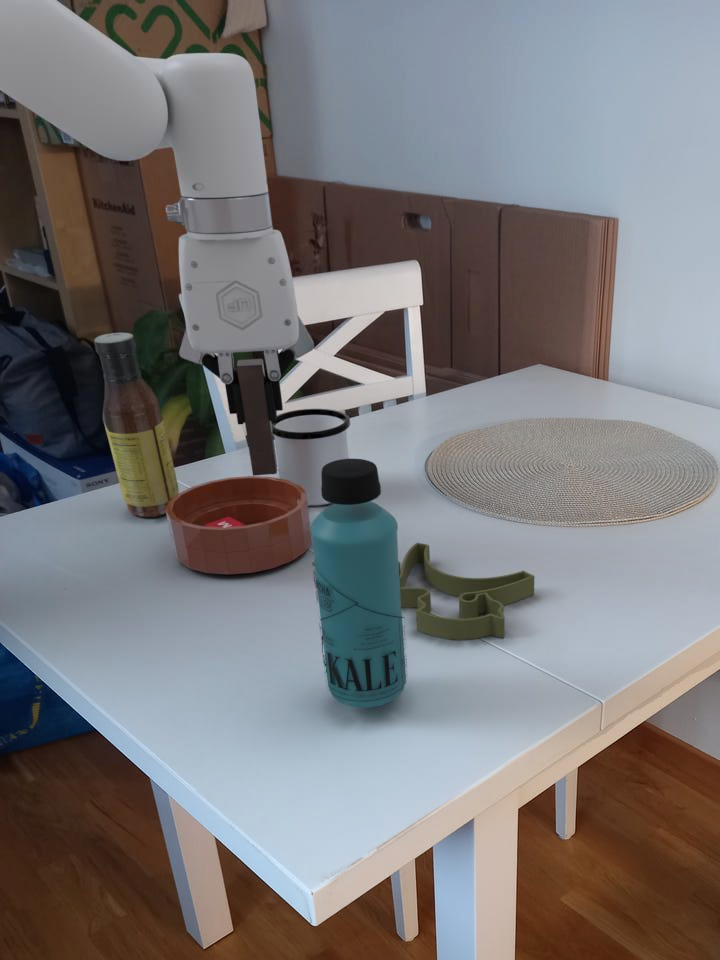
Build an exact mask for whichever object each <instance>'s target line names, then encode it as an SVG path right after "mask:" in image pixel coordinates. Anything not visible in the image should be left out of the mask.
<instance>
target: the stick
mask: <svg viewBox="0 0 720 960" xmlns="http://www.w3.org/2000/svg"><path fill="white" fill-rule="evenodd" d="M264 365H265V364H264V359H263V358H251V359H238V360H237V362H236V371H237V374H238V380H239V385H240V390H241V397H242V403H243V410H244V416H245V423H244V426H245V433H246V438H247V446H248V451H249V453H248V454H249V459H250V466H251V471H252V473H251V474H252V476H267V475H278V470H277V465H278V462H277V454H276V447H275V439H274V436H273V431H272V424H271V421H269V418H268V411H267V403H266V396H265V389H264V383H265V367H264Z"/></svg>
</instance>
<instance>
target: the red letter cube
mask: <svg viewBox="0 0 720 960" xmlns="http://www.w3.org/2000/svg"><path fill="white" fill-rule="evenodd" d="M237 526H245V525H244V524H242V523H241V522H239V521H237V520H235V519H233V518H231V517H227V518H224V519H221V520H218V521H215V522H212V523H209V524H206V525H204V527H224V528H225V527H237Z"/></svg>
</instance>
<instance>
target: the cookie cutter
mask: <svg viewBox="0 0 720 960" xmlns="http://www.w3.org/2000/svg"><path fill="white" fill-rule="evenodd" d="M430 554H431V553H430V544H428V543H422V542H416V543H414V544H413V545H412V546H411V547H410V548H409V549H408V550H407V552H406V553H405V555H404V558H403V560H402V564H401V562H400V561H399V580H400V599H401V608H417V609H416V610H415V617H416V620H415V621H416V630H417V631H419V632H422V633H424V634H427V635H430V636H433V637H437V638H441V639H447V640H454V641H455V640H456V641H463V640H464V641H466V640H475V639H480V638H485V637H488V636H493V637H496V638H500V639H504V638H505V623H506V621H505V620H506V619H505V617H506V616H505V614H504V606H507V605H510V604H513V603H516V602H520V601H522V600H524V599H527V598H529V597H531V596H534V595H535V575H533V574H531V573H530V572H527V571H525V570H521V571H518V572H514V573H510V574H504V575H499V576H498V575H497V576H492V577H463V576H456V575H453V574H449V573H446V572H443V571H442V570H439V569H437V568H436V567H435V566H433V565H432V564H431V560H430V559H431V557H430ZM418 563H424V576H425V579H426V580H427V582H428V583H429V584H430V585H431V586H432V587H433V588H434V589H436V590H438V591H439V592H441V593H444V594H447V595H450V596H455V597H458V609H459V610H458V612H459V615H458V617H459V618H453V617H444V616H440V615H435V614H432V613H430V612H431V611H432V600H431V599H432V598H431V589H430V588H426V587H419V586H418V587H416V586H415V587H414V586H413V587H406V583H407V579H408V577H409V574H410V573H411V571H412V569H413V568H414V567H415V565H416V564H418ZM480 614H481V615H482V614H485V615H482V616H480Z"/></svg>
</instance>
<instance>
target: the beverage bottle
mask: <svg viewBox="0 0 720 960" xmlns="http://www.w3.org/2000/svg"><path fill="white" fill-rule="evenodd" d="M321 478H322V486H321V493H322V498H323V499H324V500H326V501H328V502H330V503H332V504H329V505H328V506H327V507H325V508H324V509H322V511H320V513H319V514H317V515H316V517H315V518H314V519H313V521H312V522H311V523H310V527H311V528H310V532H311V538H312V550H313V558H314V559H313V562H312V563H311V565H312V566H314V570H313V576H314V577H313V582H314V587H315V588H316V593H315V596H316V598H315V599H316V602H317V603H318V608H319V621H320V622H319V623H318V627H319V635H320V639H321V644H320V645H321V654H322V663H323V668H325V670H324V671H323V672H324V675H325V678H326V679H325V683H326V685H327V686H326V688H327V690H328V691H329V692H330V694H331V696H332V698H333V699H334V700H336V701H337V702H338V703H340V704H342V705H344V706H348V707H353V708H374V707H379V706H383V705H385V704H388V703H390V702H393V701H394V700H396V699H397V698H398V697H399V696H400V695H402V693H403V692H404V689H405V686H406V684H407V681H408V677H407V676H408V669H406V667H408V657H407V654H405V651H406V647H405V644H406V636H404V635H406V632H405V630H406V627H405V626H404V625H403V622H404V624H406V622H405V620H404V621H403V619H405V616H403V613H402V607H401V599H400V580H399V562H400V561H399V546H398V543H399V542H398V527H399V526H398V521H397V519H396V518H395V517H394V515H392V514H391V512H389V511H388V510H387V509H385V508H384V507H382V506H381V505H379V504H377V503H376V502H373V501H374V500H376V499H378V498H379V497H380V495H381V494H382V488H381V486H382V485H381V482H380V477H379V472H378V467H377V465H376V464H375V462H372V461H370V460H367V459H364V458H363V459H362V458H349V459H341V460H336V461H333V462H330V463H328V464H326V465H325V466H324V467H323V468H322V471H321Z"/></svg>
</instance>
